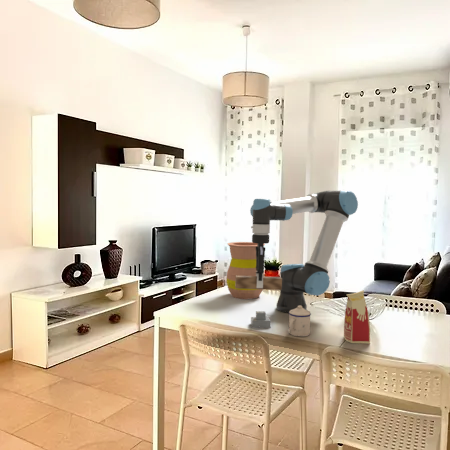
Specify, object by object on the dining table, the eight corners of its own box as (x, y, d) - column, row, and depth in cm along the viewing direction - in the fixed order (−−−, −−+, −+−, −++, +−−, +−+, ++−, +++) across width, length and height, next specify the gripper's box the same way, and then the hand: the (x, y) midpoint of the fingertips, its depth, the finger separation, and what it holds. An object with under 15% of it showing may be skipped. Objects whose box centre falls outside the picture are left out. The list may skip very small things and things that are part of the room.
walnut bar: (279, 288, 193) (280, 277, 192) (281, 290, 189) (282, 278, 189) (235, 286, 192) (235, 275, 192) (235, 288, 188) (236, 277, 188)
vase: (221, 292, 255) (222, 242, 253) (256, 290, 262) (256, 241, 260) (233, 301, 234) (233, 246, 232) (270, 299, 241) (271, 245, 239)
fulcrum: (268, 323, 193) (268, 310, 193) (270, 327, 187) (270, 314, 187) (250, 323, 193) (251, 310, 193) (252, 327, 187) (252, 314, 187)
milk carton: (363, 336, 177) (364, 287, 176) (371, 343, 168) (372, 292, 167) (341, 336, 177) (342, 287, 176) (348, 343, 168) (349, 292, 167)
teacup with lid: (295, 328, 186) (296, 302, 186) (314, 333, 180) (315, 305, 180) (280, 335, 177) (280, 307, 176) (299, 340, 171) (300, 311, 171)
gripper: (251, 232, 198) (249, 283, 199) (253, 235, 180) (252, 290, 182) (267, 232, 198) (265, 283, 199) (271, 235, 180) (269, 291, 182)
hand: (259, 286), depth 190 cm, fingers closed on walnut bar, 4 cm apart
